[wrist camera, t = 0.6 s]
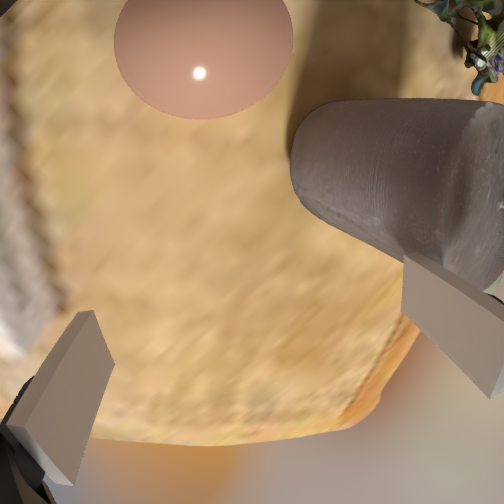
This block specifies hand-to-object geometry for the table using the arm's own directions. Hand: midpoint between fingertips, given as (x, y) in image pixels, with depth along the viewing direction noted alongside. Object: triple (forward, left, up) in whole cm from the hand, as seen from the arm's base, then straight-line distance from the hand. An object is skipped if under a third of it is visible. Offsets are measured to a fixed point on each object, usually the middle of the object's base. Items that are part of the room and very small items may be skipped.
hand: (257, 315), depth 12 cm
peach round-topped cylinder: (-11, +1, -13) cm, 17 cm away
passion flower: (-14, +24, -13) cm, 30 cm away
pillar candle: (-1, +10, -12) cm, 16 cm away
